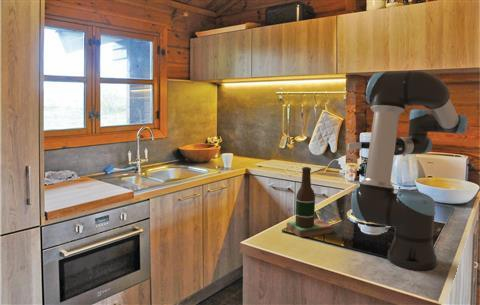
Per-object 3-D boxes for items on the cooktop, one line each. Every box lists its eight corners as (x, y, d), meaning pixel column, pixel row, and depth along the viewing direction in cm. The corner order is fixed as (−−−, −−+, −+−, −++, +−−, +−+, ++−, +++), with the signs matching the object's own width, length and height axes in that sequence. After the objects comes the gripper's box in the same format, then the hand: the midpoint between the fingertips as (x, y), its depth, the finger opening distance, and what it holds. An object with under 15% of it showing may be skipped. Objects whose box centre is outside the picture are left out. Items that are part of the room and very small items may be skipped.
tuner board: (332, 232, 160) (332, 226, 159) (299, 237, 154) (300, 230, 154) (317, 224, 170) (317, 218, 169) (286, 228, 164) (286, 222, 164)
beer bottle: (301, 221, 166) (303, 165, 162) (317, 225, 161) (320, 167, 157) (291, 225, 160) (293, 167, 156) (308, 229, 155) (310, 170, 151)
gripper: (421, 159, 157) (379, 162, 149) (378, 151, 180) (339, 153, 172) (423, 140, 155) (380, 142, 148) (379, 134, 178) (340, 136, 171)
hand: (358, 148), depth 160 cm, fingers open, 13 cm apart
